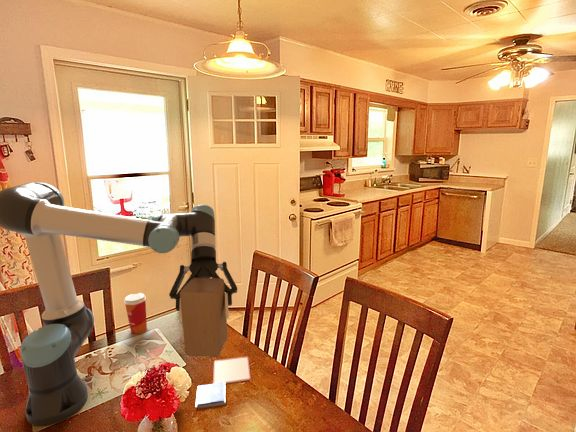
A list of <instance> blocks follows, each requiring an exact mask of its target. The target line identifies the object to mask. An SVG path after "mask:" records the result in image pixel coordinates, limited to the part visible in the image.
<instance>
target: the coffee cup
mask: <svg viewBox="0 0 576 432" xmlns="http://www.w3.org/2000/svg"><path fill="white" fill-rule="evenodd" d="M146 300H147V297H146V296H145V294H144V293H143V292H138V293H137V292H136V293H131V294H128V295H127V296H125V297H124V301H123V303H124V306H125V309H126V313H127V319H128V323H129V329H130V332H131V334H133V335H140V334H143V333H144V332H146V331H147V327H148V326H147V325H148V324H147V306H146Z"/></svg>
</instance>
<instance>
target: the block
mask: <svg viewBox="0 0 576 432" xmlns="http://www.w3.org/2000/svg"><path fill="white" fill-rule="evenodd" d="M220 278H221V277H220ZM220 278H212V277H211V278H193V279H191V280H190V281H189V282H188V284H187V285H186V286H185V287H184V288H183V289H182V290H181V292H180V300H181V310H182V321H183V323H182V328H183V339H184V341H183V342H184V351H185V355H186V356H193V357H208V358H212V357H213V358H218V357H219V356H220V355H221V352H222V350H223V348H224V345H225V344H226V343H227V342H226V341H227V339H228V337H229V336H228V323H227V319H228V318H226V308H225V293H226V292H225V285H224V283H225V279H224V278H221V279H220Z"/></svg>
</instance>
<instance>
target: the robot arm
mask: <svg viewBox="0 0 576 432" xmlns="http://www.w3.org/2000/svg"><path fill="white" fill-rule="evenodd" d="M0 228H2V229H3V230H6V231H10V232H13V233H17V235H20V236H22V237H24V239H25V244H26V246H27V250H28V252H29V256H30V259H31V263H32V267H33V270H34V274H35V278H36V281H37V284H38V287H39V291H40V294H41V297H42V301H43V304H44V307H45V310H44V311H43V313H42V314H41V319H42V322H43V326H41V327H38V329H37V330H33V331H32V332H30V333H29V334H28V335H26V336H25V337H24V339H23V341H22V342H21V343H20V360H21V362H22V366H23V371H24V375H25V379H26V384H27V388H28V396H27V401H26V404H25V405H26V406H25V417H26V420H27V423H29V424H30V423H31V424H30V425H32V424H33V425H32V426H35V425H36V426H37V427H41V426H49V425H53V424H57V423H59V422H61V421H64V420H66V419H68V418H70V417H71V416H72V415H74V414H75V413H77V412H78V411H79V410H80V409H81V408H82V407H83V406H84V405H85V403H86V402H87V400H88V397H89V393H88V387H87V385H86V384H85V383H84V381H83V379H82V378H81V376H80V375H79V374H78V371H77V365H76V361H75V359H76V358H75V357H76V355H77V353H78V352H79V351H80V349H81V348H82V347H83V345H84V343H85V342H86V340H87V339H88V337H90V335H91V333H92V330H93V328H94V326H95V325H94V324H95V316H94V313H93V311H92V310H91V309H90V308H87V306H86V305H85V303H84V301H83V300H80V299H79V298H78V296H77V293H76V289H75V288H76V287H75V286H74V281H73V278H72V273H71V270H70V266H69V263H68V259H67V255H66V252H65V247H64V244H63V241H62V236H61V235H63V236H69V237H77V238H83V239H90V240H97V241H98V240H99V241H104V242H111V243H112V242H113V243H119V244H124V245H125V244H126V245H132V246H133V245H134V246H141V247H146V248H147V247H148V248H150V249H151V250H152V251H154V252H155V253H157V254H168V253H170V252H171V251H173V250H174V249H175V247H177V245H178V242H180V237H190V239H191V240H190V243H191V245H190V247H191V248H190V250H191V252H190V264H189V265H184V264H181V265H179V271H178V274H177V277H176V278H175V281H174V283H173V285H172V287H171V289H170V292H169V298H170V299H171V300H175V310H176V312H178V314H179V317H178V318H179V319H178V320H179V321H178V322H179V323H180V324H183V321H182V310H181V300H180V292H181V290H182V289H183V288H184V287H185V286H186V285H187V284H188V282H189V281H190V280H191V279H193V278H220V279H222V278H221V277H220V276H219V274H217V271H218V269H220V271H222V272H223V275H224V277H225V279H226V281H227V282H228V284H229V286H228V284H227V283H225V282H224V285H225V308H226V318H227V319H229V316H230V315H229V314H230V313H229V307H231V306H232V305H233V300H232V299H233V297H232V296H233V294H237V293H238V287H237V285H236V283H235V281H234V278H233V277H232V275H231V273H230V271H229V268H228V265H227V262H226V261H222V262H221V263H218V262H217V250H216V247H217V245H216V218H215V211H214V209H213V207H212V206H210V205H208V204H198V205H194V207H192V208H191V211H190V212H185V213H162V214H153V216H152V217H151V220H150V219H144V218H138V217H133V216H126V215H121V214H120V215H119V214H114V213H108V212H101V211H95V210H91V209H90V210H88V209H84V208H83V209H82V208H78V207H77V208H76V207H72V206H71V207H69V206H65V199H64V197H63V194H62V193H61V192H60V191H59V189H58V188H57V187H55V186H54V185H52V184H49V183H47V182H37V181H36V182H29V183H28V182H26V183H24V184H20V185H16V186H15V185H14V186H11V187H6V188H4V189H1V190H0ZM189 271H190V273H191V274H190V275H189V277H188V278H187V280H186V281H185V283H183V281H184V279H185V275H186V274H187V273H188V272H189ZM182 283H183V285H182ZM181 285H182V286H181ZM180 286H181V288H180Z"/></svg>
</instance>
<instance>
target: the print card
mask: <svg viewBox="0 0 576 432" xmlns="http://www.w3.org/2000/svg"><path fill="white" fill-rule="evenodd" d="M251 375H252V374H251V368H250V361H249V355H246V356H239V357H231V358H224V359H216V360H213V379H212V380H213V381H212V384H214V383H221V382H225V385H226V384H233V383H239V382H240V383H241V382H245V381H252V376H251Z"/></svg>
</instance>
